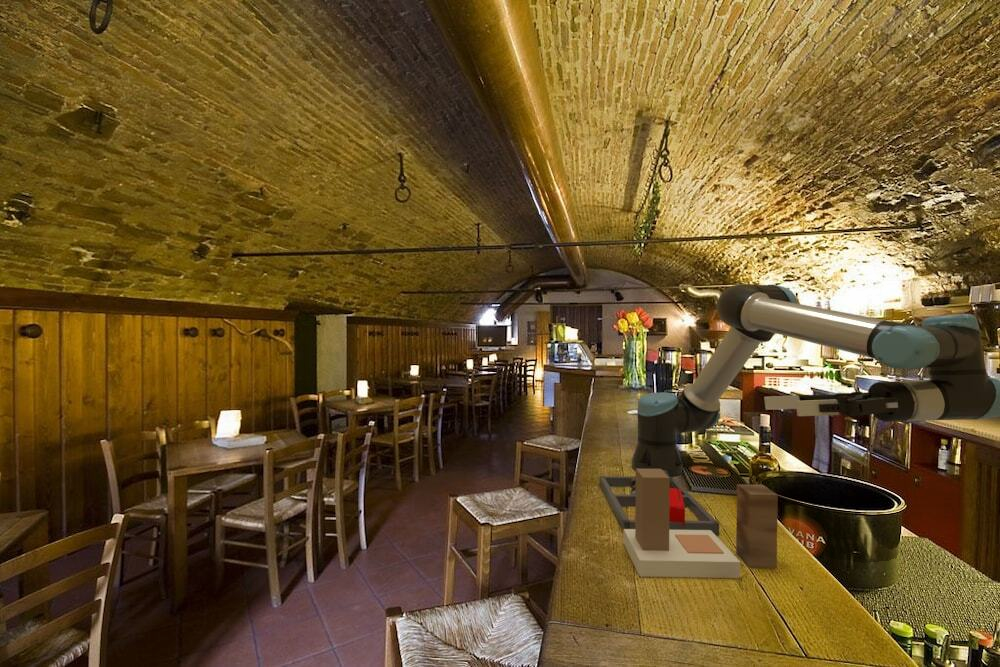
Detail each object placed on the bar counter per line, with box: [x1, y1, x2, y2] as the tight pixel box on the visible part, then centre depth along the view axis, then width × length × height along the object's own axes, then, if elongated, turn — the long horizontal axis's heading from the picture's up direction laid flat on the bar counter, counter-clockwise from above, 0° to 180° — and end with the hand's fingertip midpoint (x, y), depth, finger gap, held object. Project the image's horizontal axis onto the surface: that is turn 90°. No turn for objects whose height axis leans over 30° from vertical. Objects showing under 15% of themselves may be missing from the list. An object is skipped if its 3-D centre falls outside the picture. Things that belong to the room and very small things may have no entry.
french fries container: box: [669, 488, 686, 527], centre depth 103 cm, size 7×9×14 cm
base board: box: [622, 469, 741, 579], centre depth 85 cm, size 12×18×17 cm, turn 88°
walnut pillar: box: [735, 483, 779, 569], centre depth 84 cm, size 5×5×14 cm
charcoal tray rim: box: [599, 475, 720, 536], centre depth 109 cm, size 29×20×2 cm
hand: (780, 405), depth 86 cm, fingers open, 13 cm apart
